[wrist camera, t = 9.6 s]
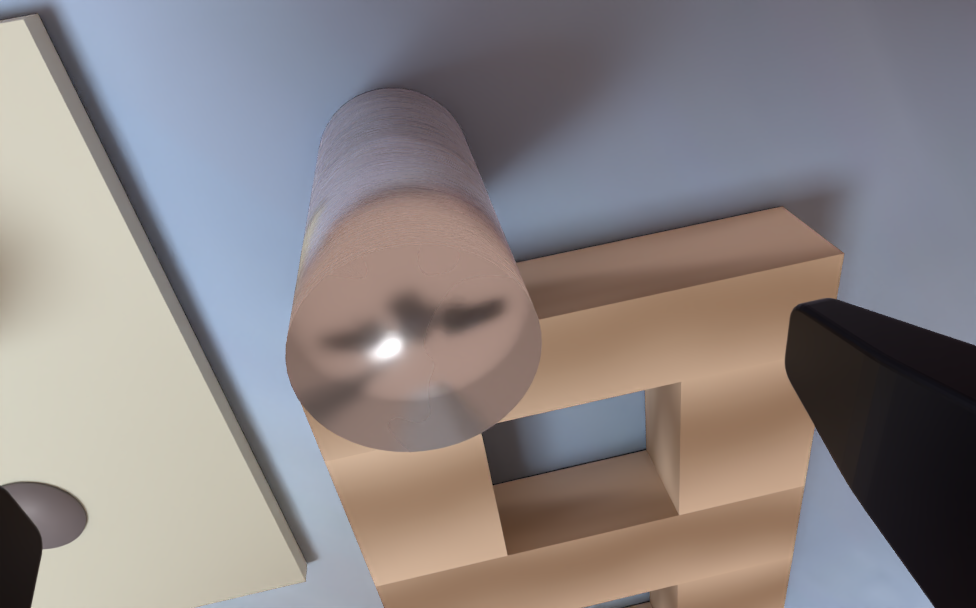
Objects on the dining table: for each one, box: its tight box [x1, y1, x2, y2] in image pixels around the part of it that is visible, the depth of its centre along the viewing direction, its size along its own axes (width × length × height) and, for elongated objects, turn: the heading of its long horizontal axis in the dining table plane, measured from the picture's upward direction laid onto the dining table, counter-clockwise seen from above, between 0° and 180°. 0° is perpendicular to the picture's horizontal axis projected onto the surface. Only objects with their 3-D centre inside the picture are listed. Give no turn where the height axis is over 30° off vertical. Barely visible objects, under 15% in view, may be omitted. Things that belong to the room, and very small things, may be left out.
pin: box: [286, 88, 542, 452], centre depth 11 cm, size 3×3×7 cm
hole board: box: [301, 206, 844, 608], centre depth 20 cm, size 18×12×2 cm, turn 9°
